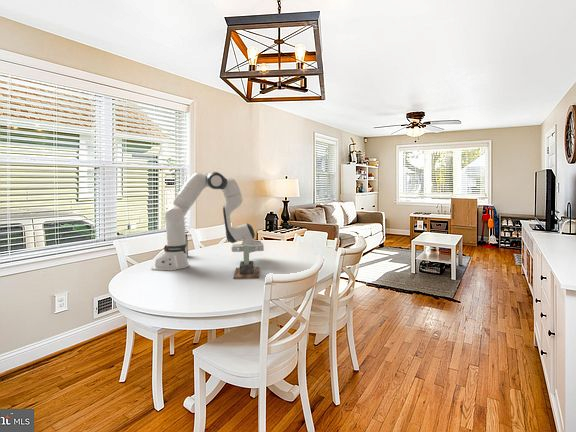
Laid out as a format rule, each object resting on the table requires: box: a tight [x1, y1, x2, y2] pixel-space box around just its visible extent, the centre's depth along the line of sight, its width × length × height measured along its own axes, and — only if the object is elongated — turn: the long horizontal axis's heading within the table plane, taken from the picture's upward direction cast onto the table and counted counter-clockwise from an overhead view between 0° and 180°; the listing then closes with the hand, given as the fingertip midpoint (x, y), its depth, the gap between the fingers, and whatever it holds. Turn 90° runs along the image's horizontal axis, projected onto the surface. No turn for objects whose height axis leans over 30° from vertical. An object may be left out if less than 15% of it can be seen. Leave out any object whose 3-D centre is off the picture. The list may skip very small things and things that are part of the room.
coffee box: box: [185, 233, 189, 257], centre depth 241 cm, size 9×6×16 cm
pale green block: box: [243, 244, 250, 265], centre depth 193 cm, size 3×6×16 cm, turn 5°
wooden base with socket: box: [233, 260, 260, 280], centre depth 194 cm, size 14×20×6 cm
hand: (247, 250), depth 204 cm, fingers open, 8 cm apart
